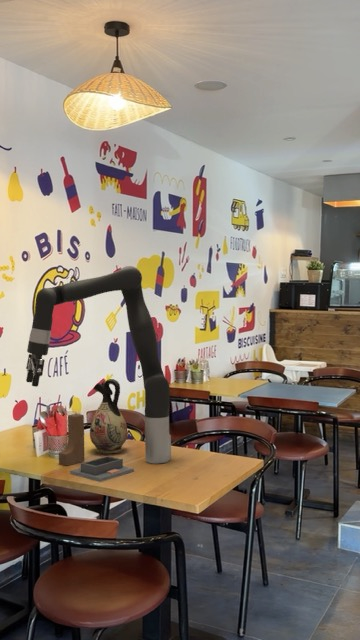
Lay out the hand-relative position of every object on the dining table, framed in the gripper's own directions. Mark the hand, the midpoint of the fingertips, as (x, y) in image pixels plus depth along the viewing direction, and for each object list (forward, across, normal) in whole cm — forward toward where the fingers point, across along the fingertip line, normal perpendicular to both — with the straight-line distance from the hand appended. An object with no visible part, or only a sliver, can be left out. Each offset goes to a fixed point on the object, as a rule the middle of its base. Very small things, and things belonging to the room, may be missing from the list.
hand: (31, 384), depth 230 cm
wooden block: (+28, -5, -19) cm, 34 cm away
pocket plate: (+25, -23, -24) cm, 42 cm away
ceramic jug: (+25, +4, -38) cm, 46 cm away
